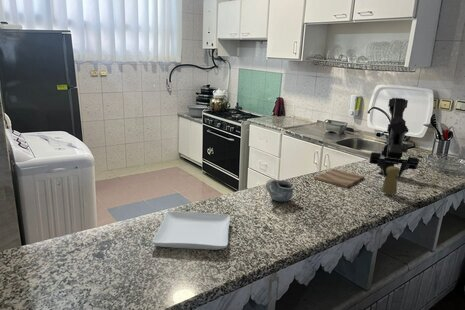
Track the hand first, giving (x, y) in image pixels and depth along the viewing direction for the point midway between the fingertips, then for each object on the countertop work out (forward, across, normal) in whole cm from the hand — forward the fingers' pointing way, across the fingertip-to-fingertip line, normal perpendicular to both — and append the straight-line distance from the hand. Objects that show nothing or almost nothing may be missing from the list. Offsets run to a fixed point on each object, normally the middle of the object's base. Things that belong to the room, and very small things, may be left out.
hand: (391, 177), depth 143 cm
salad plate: (+54, -56, -43) cm, 89 cm away
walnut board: (-3, -21, +15) cm, 26 cm away
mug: (+26, -40, -15) cm, 50 cm away
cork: (+4, 0, +6) cm, 7 cm away
